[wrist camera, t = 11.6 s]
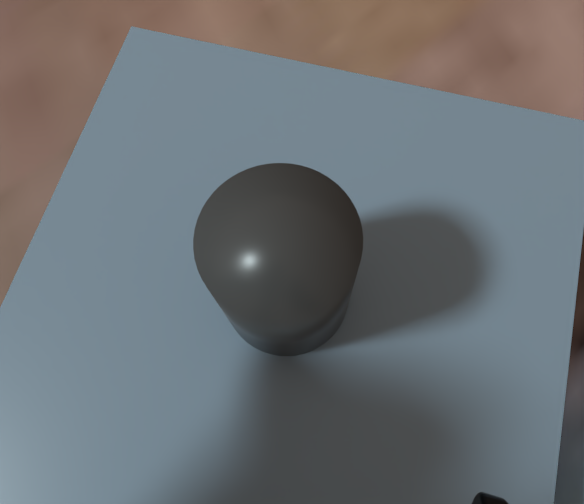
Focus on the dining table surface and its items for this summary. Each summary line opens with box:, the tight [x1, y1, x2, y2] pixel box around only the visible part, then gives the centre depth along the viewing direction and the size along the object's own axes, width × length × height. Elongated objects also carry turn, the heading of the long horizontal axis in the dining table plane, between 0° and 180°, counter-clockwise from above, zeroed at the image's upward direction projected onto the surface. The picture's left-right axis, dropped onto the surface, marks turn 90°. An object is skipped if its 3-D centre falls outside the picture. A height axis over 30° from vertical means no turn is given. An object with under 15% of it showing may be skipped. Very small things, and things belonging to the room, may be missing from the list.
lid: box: [0, 27, 584, 504], centre depth 14 cm, size 16×16×6 cm
